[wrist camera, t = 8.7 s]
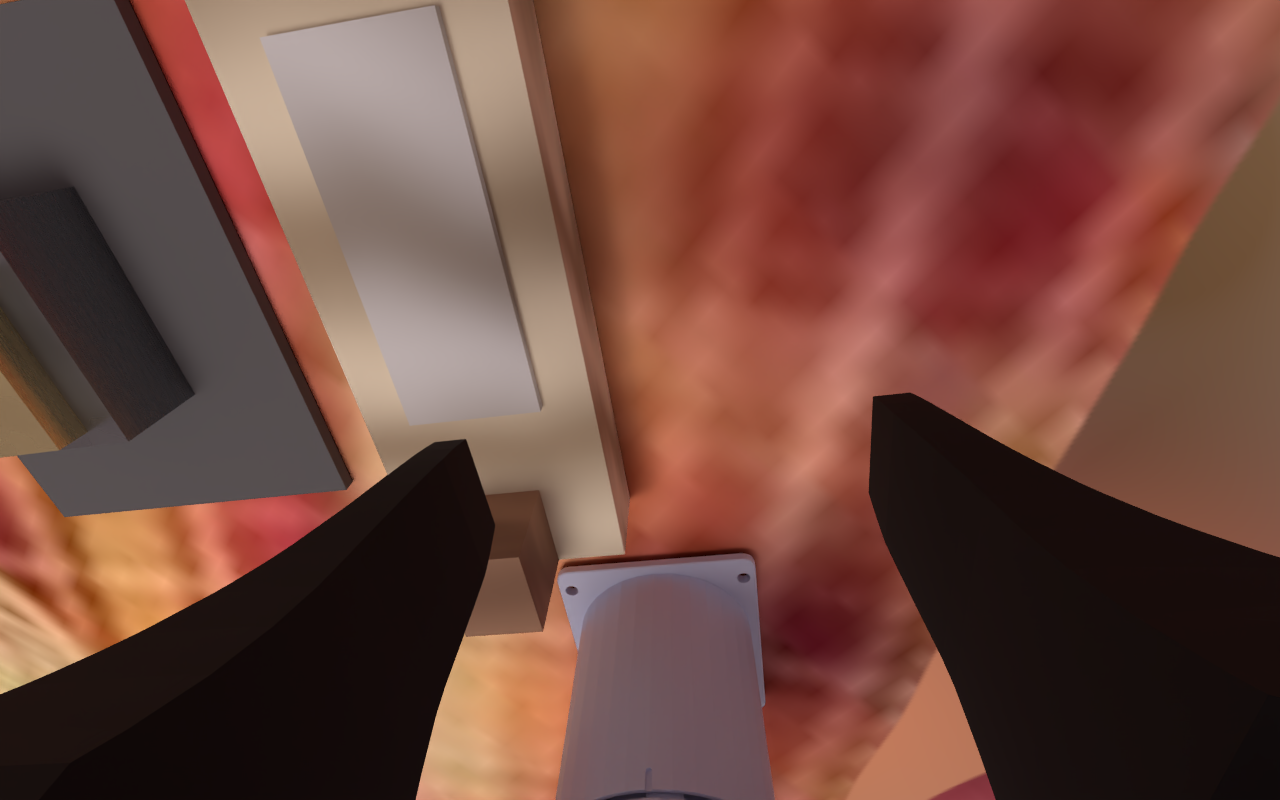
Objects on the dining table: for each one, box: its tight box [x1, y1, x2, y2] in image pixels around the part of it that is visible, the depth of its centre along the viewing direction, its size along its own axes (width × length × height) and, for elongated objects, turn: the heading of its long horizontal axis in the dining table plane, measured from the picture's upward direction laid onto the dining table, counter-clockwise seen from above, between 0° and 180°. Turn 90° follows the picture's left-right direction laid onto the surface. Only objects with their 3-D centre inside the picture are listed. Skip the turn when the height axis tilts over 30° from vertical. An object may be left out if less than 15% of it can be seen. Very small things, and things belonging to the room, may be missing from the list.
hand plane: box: [185, 0, 630, 637], centre depth 16 cm, size 22×7×6 cm, turn 8°
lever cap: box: [0, 187, 195, 458], centre depth 18 cm, size 7×4×4 cm, turn 9°
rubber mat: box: [0, 0, 352, 517], centre depth 20 cm, size 16×12×1 cm
